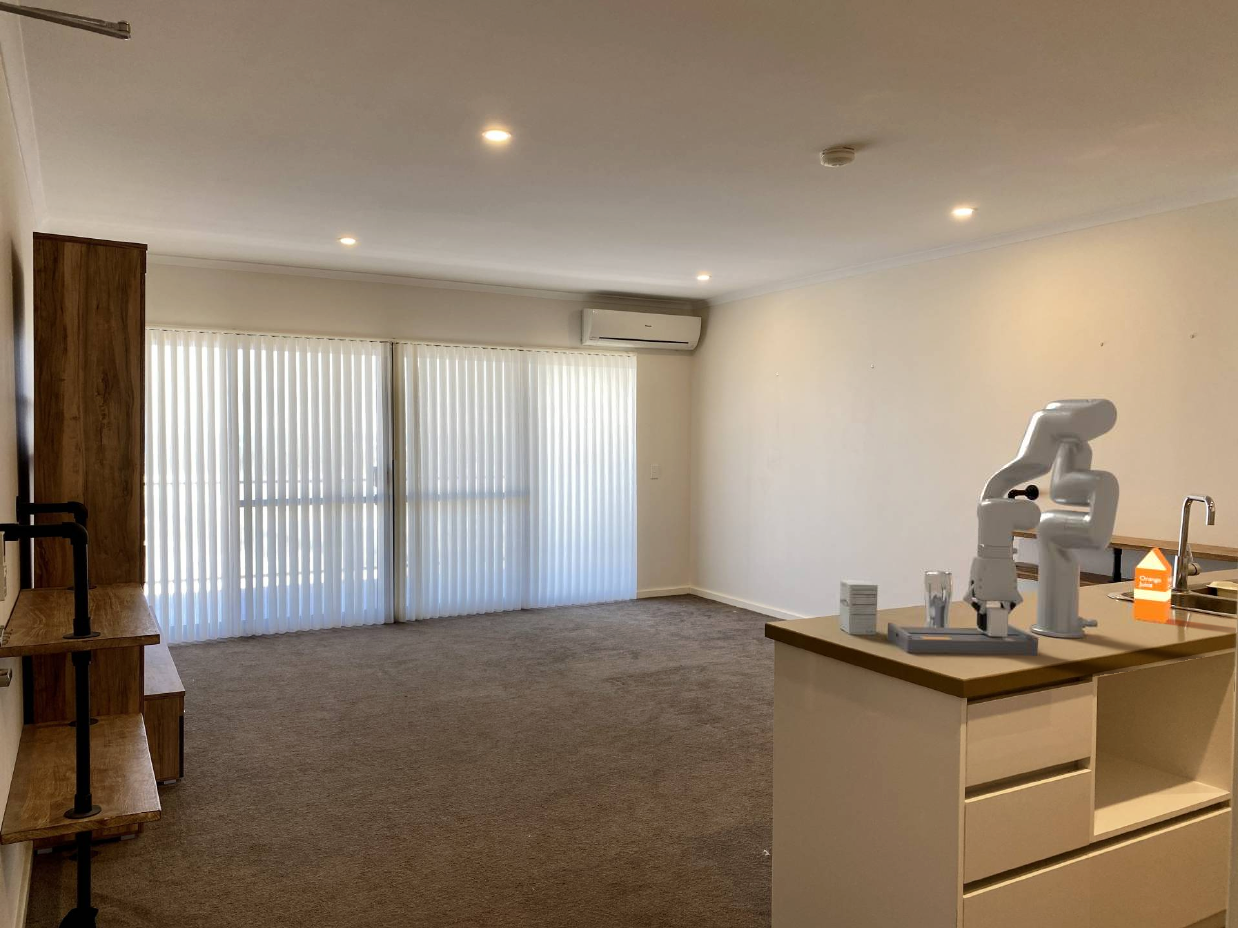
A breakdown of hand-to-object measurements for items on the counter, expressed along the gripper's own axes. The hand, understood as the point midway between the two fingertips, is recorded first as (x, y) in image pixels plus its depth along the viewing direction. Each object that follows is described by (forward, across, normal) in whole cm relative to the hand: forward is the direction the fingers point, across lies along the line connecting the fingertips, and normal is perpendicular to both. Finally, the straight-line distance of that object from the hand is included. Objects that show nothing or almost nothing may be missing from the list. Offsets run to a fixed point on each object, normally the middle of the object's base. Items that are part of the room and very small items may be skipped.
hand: (992, 628), depth 207 cm
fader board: (+4, +8, 0) cm, 9 cm away
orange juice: (+4, -63, -38) cm, 73 cm away
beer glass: (+4, +6, -17) cm, 19 cm away
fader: (+2, 0, 0) cm, 2 cm away
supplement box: (+5, +28, -15) cm, 32 cm away
